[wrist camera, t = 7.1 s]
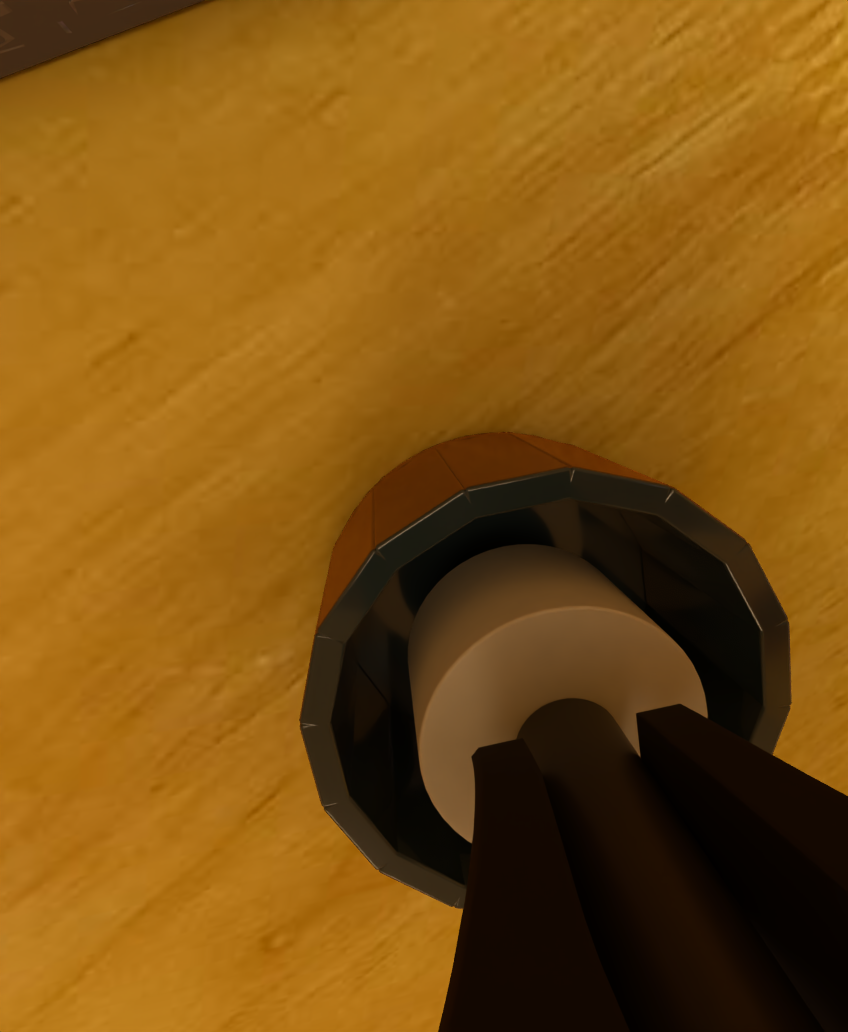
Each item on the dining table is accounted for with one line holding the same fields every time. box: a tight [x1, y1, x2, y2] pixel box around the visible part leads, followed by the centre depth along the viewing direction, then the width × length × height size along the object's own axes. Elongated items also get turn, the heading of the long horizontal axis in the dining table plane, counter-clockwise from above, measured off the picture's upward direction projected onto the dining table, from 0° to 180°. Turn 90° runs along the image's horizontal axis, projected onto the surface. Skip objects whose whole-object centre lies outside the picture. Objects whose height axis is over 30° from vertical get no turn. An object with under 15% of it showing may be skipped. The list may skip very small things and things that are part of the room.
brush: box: [408, 544, 825, 1032], centre depth 8 cm, size 4×4×8 cm
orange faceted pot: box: [299, 432, 792, 909], centre depth 12 cm, size 8×8×5 cm
